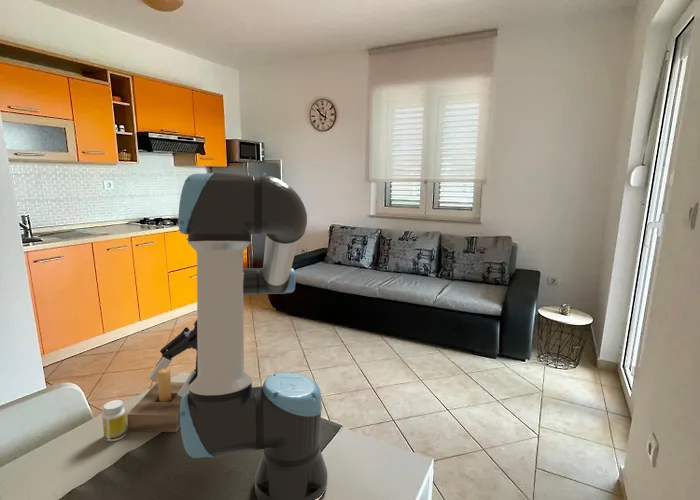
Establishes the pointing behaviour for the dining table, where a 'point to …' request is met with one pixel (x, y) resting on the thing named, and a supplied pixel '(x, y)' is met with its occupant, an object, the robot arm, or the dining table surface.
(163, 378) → the dowel
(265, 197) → the robot arm
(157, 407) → the walnut block
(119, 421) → the supplement bottle
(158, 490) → the dining table surface
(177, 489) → the dining table surface
